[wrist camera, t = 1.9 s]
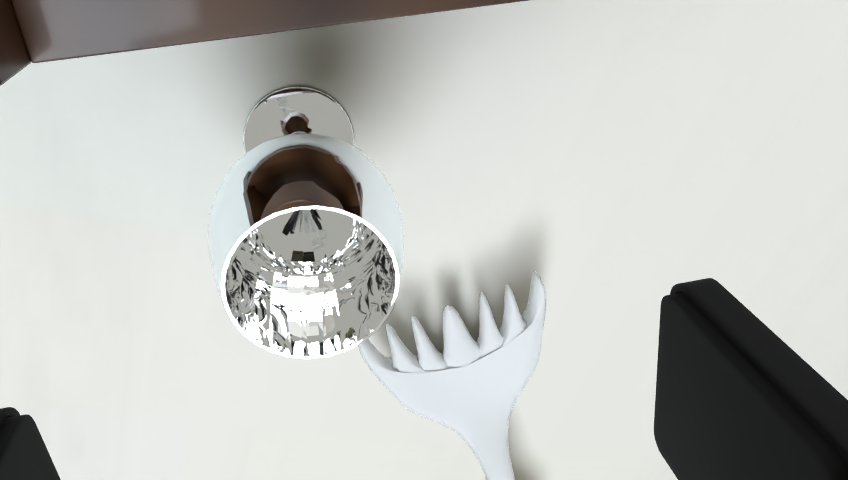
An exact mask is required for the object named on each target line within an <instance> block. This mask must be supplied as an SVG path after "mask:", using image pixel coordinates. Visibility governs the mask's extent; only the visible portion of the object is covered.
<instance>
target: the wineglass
mask: <svg viewBox="0 0 848 480" xmlns="http://www.w3.org/2000/svg"><path fill="white" fill-rule="evenodd" d="M243 144H244V148H245V152H246V154H245V155H244V156H243V157H241V158H240V159H239V160H238V161H237V162H236V163H235V164H234V165H233V166H232V167H231V169H230V170H229V172H228V174H227V175H226V177H225V178H224V180H223V181H222V183H221V185H220V187H219V189H218V191H217V192H216V195H215V198H214V201H213V204H212V208H211V212H210V217H209V226H208V246H209V255H210V261H211V266H212V271H213V275H214V278H215V281H216V284H217V287H218V290H219V293H220V296H221V299H222V302H223V304H224V306H225V308H226V310H227V312H228V314H229V316H230V318H231V320H232V322H233V323H234V324H235V326H236V327H237V328H238V329H239V330H240V332H241V333H242V334H243V335H244V336H246V337H247V338H248V339H249V340H251V341H252V342H253V343H254V344H256V345H258V346H260V347H262V348H264V349H266V350H268V351H270V352H272V353H275V354H279V355H282V356H286V357H291V358H303V359H312V358H321V357H329V356H333V355H336V354H339V353H342V352H345V351H348V350H350V349H352V348H353V347H355V346H357V345H359V344H361V343H363V342H364V341H365V340H367V339H368V338H369V337H370V336H371V335H372V334H374V333H375V332H376V331H377V330H378V329H379V328H380V327H381V325H382V324H383V323H384V321H385V320H386V319H387V317H388V316H389V315H390V313H391V311H392V309H393V307H394V304H395V301H396V298H397V293H398V288H399V283H400V277H401V271H402V266H403V260H404V234H403V222H402V217H401V213H400V209H399V205H398V202H397V199H396V197H395V194H394V192H393V189H392V187H391V185H390V184H389V182H388V180H387V179H386V177H385V175H384V174H383V173H382V172H381V171H380V169H379V168H378V167H377V166H376V165H375V163H374V162H372V161H371V160H370V159H369V158H368V157H367V156H366V155H365V154H364V153H363V152H362V151H360V150H358V149H357V148H355V147H354V146H353V145H354V134H353V128H352V124H351V122H350V120H349V117H348V115H347V113H346V112H345V111H344V109H343V108H342V107H341V105H340V104H339V103H338V102H336V101H335V100H334V99H333V98H332V97H330V96H329V95H327V94H325V93H323V92H321V91H319V90H315V89H312V88H308V87H289V88H283V89H280V90H277V91H274V92H273V93H271V94H269V95H267V96H266V97H264V98H263V99H262V100H260V101H259V102H258V103H257V104H256V106H255V107H254V108H253V109H252V111H251V112H250V114H249V116H248V118H247V121H246V125H245V128H244V142H243Z"/></svg>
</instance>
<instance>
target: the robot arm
mask: <svg viewBox="0 0 848 480" xmlns="http://www.w3.org/2000/svg"><path fill="white" fill-rule="evenodd" d="M654 435H655V440H656V444H657V446H658V449H659V451H660V453H661V454H662V456H663V457H664V459H665V460H666V462H667V464H668V465H669V467H670V468H671V470H672V471H673V473H674V474H675V476H676V477H677V479H678V480H848V400H847V399H846V398H845V397H844V396H842V395H841V394H840V393H839V392H838V391H837V390H836V389H835V388H834V387H833V386H832V385H830V384H829V383H828V382H827V381H826V380H825V379H824V378H823V377H822V376H821V375H819V374H818V373H817V372H816V371H815V370H814V369H813V368H812V367H811V366H810V365H808V364H807V363H806V362H805V361H804V360H803V359H802V358H801V357H800V356H799V355H797V354H796V353H795V352H794V351H793V350H792V349H791V348H790V347H789V346H788V345H787V344H785V343H784V342H783V341H782V340H781V339H780V338H779V337H778V336H777V335H776V334H774V333H773V332H772V331H771V330H770V329H769V328H768V327H767V326H766V325H765V324H763V323H762V322H761V321H760V320H759V319H758V318H757V317H756V316H755V315H754V314H753V313H751V312H750V311H749V310H748V309H747V308H746V307H745V306H744V305H743V304H742V303H740V302H739V301H738V300H737V299H736V298H735V297H734V296H733V295H732V294H731V293H729V292H728V291H727V290H726V289H725V288H724V287H723V286H722V285H721V284H720V283H719V282H717V281H716V280H714V279H712V278H707V279H702V280H696V281H691V282H686V283H680V284H676V285H674V286H673V288H672V290H671V293H670V295H667V296H664V297H663V299H662V301H661V312H660V329H659V347H658V364H657V382H656V400H655V417H654ZM0 480H60V477H59V475H58V473H57V471H56V468H55V466H54V464H53V462H52V459H51V457H50V455H49V453H48V450H47V448H46V446H45V444H44V441H43V439H42V437H41V435H40V432H39V430H38V428H37V426H36V423H35V422H34V420H33V418H32V417H31V416H30V415H21V416H20V414H19V412H18V411H17V410H16V409H14V408H11V407H7V408H2V409H0Z"/></svg>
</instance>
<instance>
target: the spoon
mask: <svg viewBox="0 0 848 480" xmlns="http://www.w3.org/2000/svg"><path fill="white" fill-rule="evenodd" d="M545 311H546V296H545V289H544V285H543V282H542V280H541V277H540V276H539V274H538V273H537V272H536V271H534V273H533V274H532V279H531V286H530V295H529V301H528V305H527V308H526V310H525V311H524V312H523V313H522V314H520V311H519V309H518V306H517V303H516V300H515V298H514V295H513V292H512V290H511V288H510V286H509V285H508V284H506V286H505V293H504V315H503V321H502V325H501V327H500V329H499V330H498V328H497V325H496V323H495V320H494V317H493V314H492V312H491V309H490V306H489V303H488V301H487V299H486V297H485V295H484V294H483V293H482V292H481V293H480V296H479V322H480V327H479V337H478V340H477V343H476V342H475V341H474V340H473V338H472V336H471V335H470V333H469V331H468V329H467V327H466V326H465V324H464V322H463V320H462V318H461V317H460V315H459V314H458V312H457V311H456V310H455V309H454V308H453V307H452V306H449V305H447V306H446V307H445V308H444V312H443V339H444V350H443V354H441V353H440V352H439V351H437V349H436V348H435V347H434V345H433V344H432V342H431V341H430V339H429V337H428V336H427V334H426V332H425V331H424V329H423V327H422V325H421V324H420V322H419V321H418V320H417V318H416V317H415V316H412V318H411V319H412V328H413V333H414V337H415V342H416V347H417V352H418V357H417V356H415V355H413V354H412V353H411V352H410V351H409V350H408V349H407V348H406V346H405V345H404V344H403V342H402V341H401V339H400V338H399V337H398V335H397V334H396V332H395V331H394V330H393V328H392V327H391V326H390V325H389V324H387V325H386V330H387V336H388V341H389V345H390V350H391V355H392V358H390V357H385V356H384V355H382V354H381V353H380V352H379V351H378V350H377V349H376V348H375V347H374V346H373V344H372V343H371V342H370V341H369V340H368V339H367V340H365V341H364V342H363V343H361V344H359V345H358V347H359V350H360V353H361V355H362V357H363V359H364V361H365V363H366V364H367V365H368V367H369V368H370V370H371V371H372V372H373V373H374V374H375V376H376V377H377V378H378V379H379V380H380V381H381V382H382V383H383V385H384V386H385V387H386V388H387V389H388V390H389V391H390V392H391V394H392V395H393V396H394V397H395V398H396V399H397V400H398V401H399V402H400V403H401V404H402V405H403V406H404V407H405V408H407V409H408V410H410V411H412V412H413V413H415V414H417V415H420V416H422V417H425V418H428V419H430V420H433V421H436V422H438V423H440V424H442V425H444V426H446V427H448V428H450V429H451V430H453V431H454V432H456V433H457V434H458V435H459V436H460V437H461V438H462V439H463V440H464V441H465V442H466V443H467V444H468V446H469V447H470V448H471V450H472V451H473V453H474V455H475V456H476V458H477V460H478V461H479V463H480V465H481V467H482V469H483V471H484V473H485V476H486V478H487V480H515V477H514V472H513V468H512V463H511V457H510V452H509V443H508V424H509V418H510V414H511V411H512V408H513V406H514V404H515V402H516V400H517V398H518V396H519V394H520V393H521V391H522V389H523V388H524V386H525V385H526V383H527V382H528V380H529V379H530V377H531V376H532V374H533V372H534V370H535V368H536V365H537V362H538V359H539V355H540V348H541V340H542V332H543V326H544V319H545Z"/></svg>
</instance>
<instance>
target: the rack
mask: <svg viewBox="0 0 848 480" xmlns="http://www.w3.org/2000/svg"><path fill="white" fill-rule="evenodd" d="M520 1H528V0H0V86H1V85H2V84H4V83H5V82H6V81H7V80H9V79H10V78H11V77H13V76H14V75H15V74H17V73H18V72H19V71H21V70H22V69H23V68H24V67H26V66H27V65H28V64H30V63H31V62H32V63H40V62H47V61H55V60H63V59H71V58H79V57H87V56H95V55H103V54H111V53H118V52H126V51H134V50H142V49H150V48H158V47H166V46H174V45H181V44H189V43H197V42H205V41H213V40H221V39H229V38H237V37H244V36H252V35H260V34H268V33H276V32H284V31H292V30H300V29H307V28H315V27H323V26H331V25H339V24H347V23H355V22H363V21H371V20H378V19H386V18H394V17H402V16H410V15H418V14H426V13H434V12H441V11H449V10H457V9H465V8H473V7H481V6H489V5H497V4H504V3H512V2H520Z"/></svg>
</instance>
